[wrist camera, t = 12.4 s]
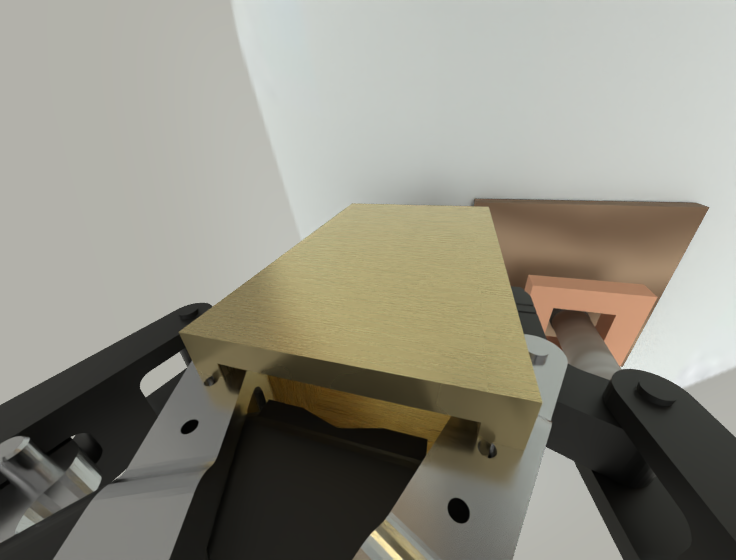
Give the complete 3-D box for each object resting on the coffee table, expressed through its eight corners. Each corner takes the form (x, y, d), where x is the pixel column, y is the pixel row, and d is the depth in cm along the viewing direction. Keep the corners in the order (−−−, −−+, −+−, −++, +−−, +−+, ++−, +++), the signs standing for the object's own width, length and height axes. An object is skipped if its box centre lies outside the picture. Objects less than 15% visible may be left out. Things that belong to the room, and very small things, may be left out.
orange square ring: (528, 274, 19) (532, 285, 18) (643, 284, 17) (657, 297, 16) (509, 345, 22) (512, 359, 21) (606, 360, 20) (615, 375, 19)
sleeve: (352, 203, 12) (178, 332, 5) (488, 206, 11) (542, 403, 3) (360, 308, 15) (256, 494, 8) (470, 322, 13) (476, 575, 6)
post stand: (474, 198, 23) (484, 283, 11) (696, 202, 19) (1072, 339, 7) (456, 333, 29) (450, 473, 18) (616, 357, 26) (742, 555, 14)
